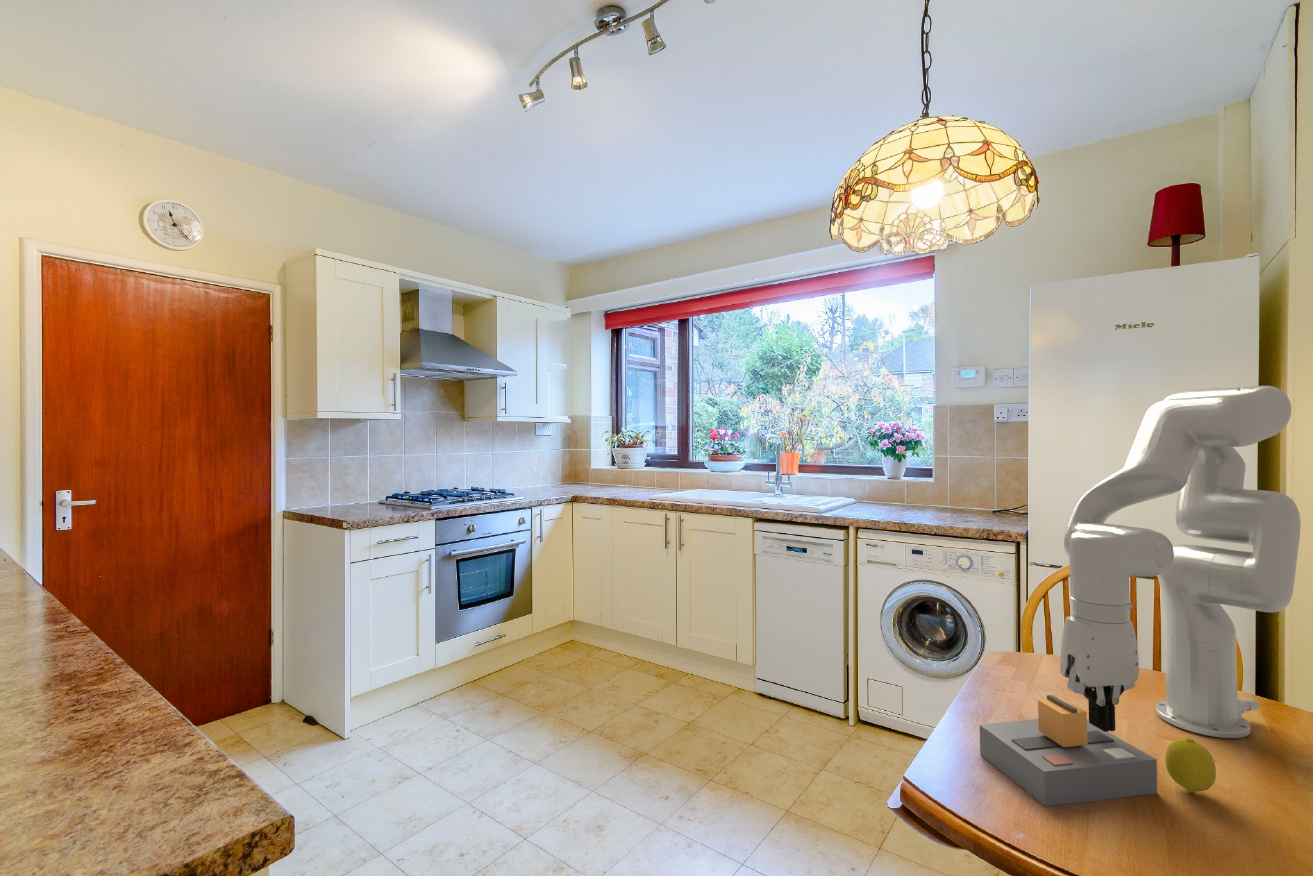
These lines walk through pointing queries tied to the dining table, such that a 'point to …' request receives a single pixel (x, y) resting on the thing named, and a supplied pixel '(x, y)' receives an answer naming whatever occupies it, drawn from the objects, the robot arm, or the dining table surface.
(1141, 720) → the dining table surface
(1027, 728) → the switch panel
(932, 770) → the dining table surface
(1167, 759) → the lemon
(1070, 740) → the orange block
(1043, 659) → the dining table surface
